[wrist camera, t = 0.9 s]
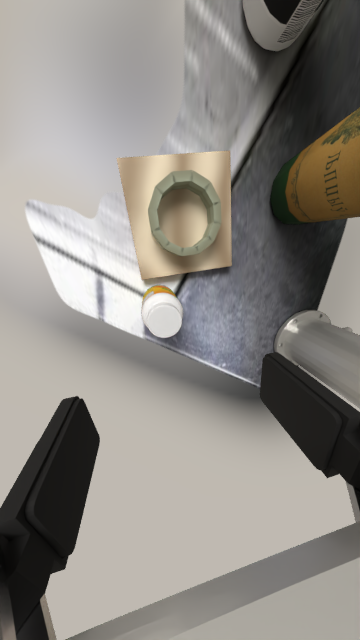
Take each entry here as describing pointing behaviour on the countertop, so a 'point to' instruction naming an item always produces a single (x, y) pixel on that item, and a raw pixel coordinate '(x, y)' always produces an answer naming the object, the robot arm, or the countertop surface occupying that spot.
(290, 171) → the bottle
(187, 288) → the countertop surface
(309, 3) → the supplement can
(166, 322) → the supplement bottle
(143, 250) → the collar holder
